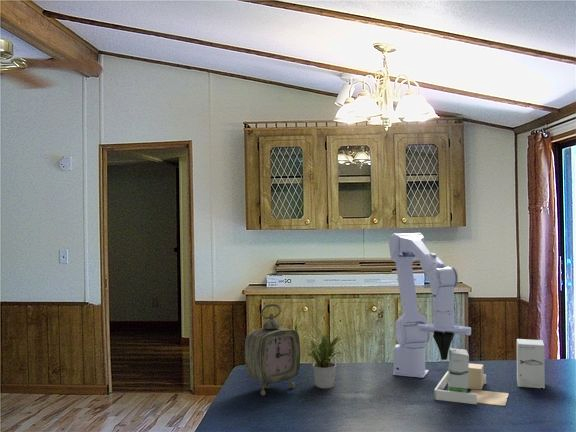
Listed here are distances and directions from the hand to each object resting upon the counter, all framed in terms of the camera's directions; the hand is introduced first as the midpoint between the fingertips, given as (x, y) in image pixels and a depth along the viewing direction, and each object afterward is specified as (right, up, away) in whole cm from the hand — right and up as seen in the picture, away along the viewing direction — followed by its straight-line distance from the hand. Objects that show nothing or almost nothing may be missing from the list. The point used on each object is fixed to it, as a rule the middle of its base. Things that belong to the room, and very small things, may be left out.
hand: (444, 358), depth 170 cm
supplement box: (+27, -9, +7) cm, 29 cm away
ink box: (+3, -10, -1) cm, 10 cm away
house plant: (-32, -10, +8) cm, 34 cm away
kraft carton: (+10, -9, +6) cm, 15 cm away
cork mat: (+11, -10, -5) cm, 15 cm away
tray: (+5, -10, +2) cm, 11 cm away
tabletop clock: (-48, -11, +6) cm, 50 cm away
